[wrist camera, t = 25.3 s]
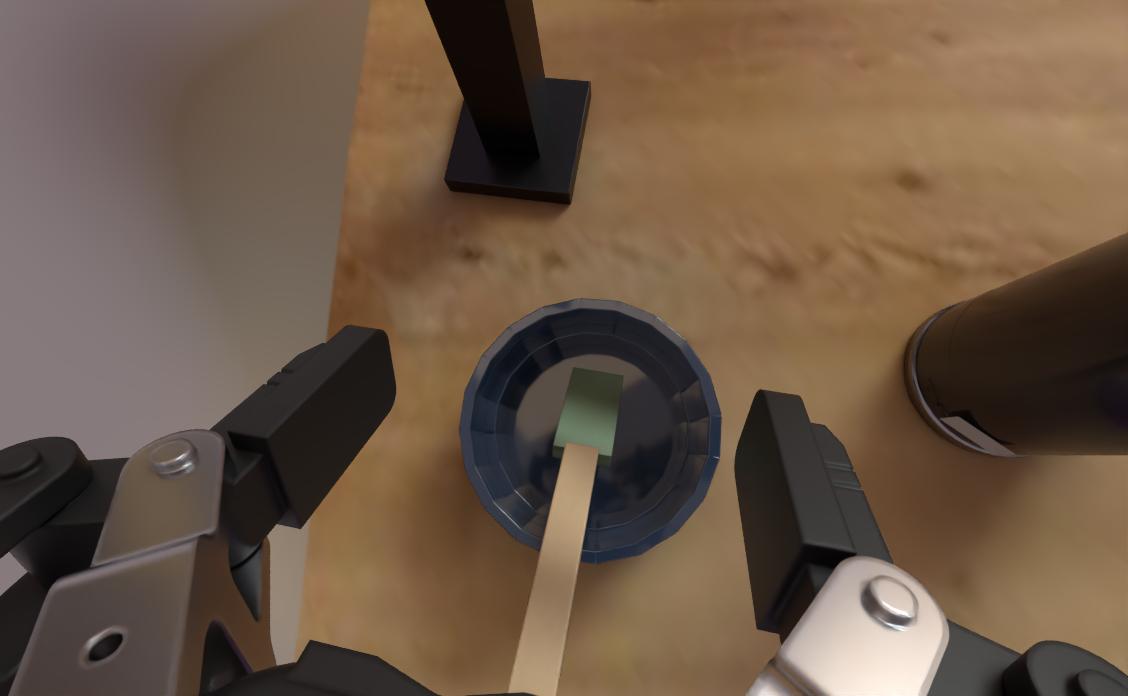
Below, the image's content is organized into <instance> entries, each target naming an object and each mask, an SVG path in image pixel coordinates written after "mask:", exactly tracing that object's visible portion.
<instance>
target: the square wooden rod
mask: <svg viewBox="0 0 1128 696" xmlns="http://www.w3.org/2000/svg"><path fill="white" fill-rule="evenodd" d="M623 378H624V376H623V375H617V374H611V373H605V372H599V371H594V370H588V369H582V368H576V367H573V369H572V373H571V377H570V381H569V385H568V388H567V392H566V396H565V400H564V404H563V408H562V412H561V416H560V419H559V423H558V427H557V431H556V435H555V439H554V443H553V455H552V456H553V457H554V458H559V459H562V460H561V465H560V469H559V473H558V477H557V482H556V486H555V490H554V494H553V498H552V503H551V507H550V511H549V515H548V520H547V524H546V528H545V532H544V536H543V541H542V545H541V549H540V553H539V558H538V562H537V566H536V570H535V574H534V579H533V583H532V587H531V591H530V596H529V600H528V604H527V608H526V612H525V617H524V621H523V625H522V629H521V634H520V638H519V642H518V646H517V650H516V655H515V659H514V663H513V667H512V672H511V676H510V680H509V684H508V688H507V693H519V692H525V693H529V694H533V695H537V696H557V692H558V686H559V680H560V675H561V669H562V663H563V657H564V651H565V646H566V640H567V634H568V628H569V623H570V617H571V611H572V605H573V600H574V594H575V588H576V582H577V577H578V571H579V565H580V559H581V554H582V548H583V542H584V536H585V531H586V525H587V519H588V513H589V508H590V502H591V496H592V490H593V485H594V479H595V473H596V467H597V466H600V467H606V468H609V467H610V462H611V457H612V451H613V444H614V437H615V431H616V424H617V417H618V411H619V404H620V398H621V391H622V384H623Z"/></svg>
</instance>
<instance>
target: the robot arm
mask: <svg viewBox="0 0 1128 696" xmlns="http://www.w3.org/2000/svg"><path fill="white" fill-rule="evenodd" d="M905 377H906V383H907V387H908V390H909V393H910V396H911V398H912V400H913V402H914V404H915V406H916V408H917V409H918V411H919V412H920V414H921V415H922V417H923V418H924V419H925V420H926V421H927V423H928V424H929V425H930V426H931V427H932V428H933V429H934V430H936V431H937V432H938V433H939V434H940V435H942V436H943V437H944V438H946V439H947V440H949V441H950V442H952V443H954V444H955V445H957V446H959V447H962V448H964V449H966V450H969V451H971V452H975V453H978V454H982V455H987V456H994V457H1025V456H1032V455H1063V456H1069V455H1128V232H1127V233H1125V234H1122V235H1120V236H1118V237H1115V238H1113V239H1111V240H1108V241H1106V242H1104V243H1101V244H1099V245H1097V246H1094V247H1092V248H1090V249H1087V250H1085V251H1083V252H1080V253H1078V254H1076V255H1073V256H1071V257H1069V258H1066V259H1064V260H1062V261H1059V262H1057V263H1055V264H1052V265H1050V266H1048V267H1045V268H1043V269H1041V270H1038V271H1036V272H1034V273H1031V274H1029V275H1027V276H1024V277H1022V278H1020V279H1017V280H1015V281H1013V282H1010V283H1008V284H1006V285H1003V286H1001V287H999V288H996V289H994V290H991V291H989V292H986V293H984V294H982V295H979V296H977V297H975V298H972V299H970V300H967V301H963V302H960V303H957V304H955V305H952V306H950V307H947V308H945V309H943V310H941V311H939V312H937V313H935V314H934V315H932V316H931V317H929V318H928V319H927V320H926V321H925V322H923V324H922V325H921V326H920V327H919V328H918V329H917V331H916V332H915V333H914V335H913V337H912V339H911V341H910V343H909V346H908V349H907V352H906V358H905ZM395 396H396V382H395V376H394V370H393V364H392V358H391V352H390V346H389V340H388V336H387V334H386V332H385V331H383V330H380V329H374V328H367V327H361V326H354V325H347V326H345V327H344V328H343V329H342V330H340V331H339V332H338V333H337V334H336V335H335V336H334V337H332V338H331V339H330V340H329V341H328V342H327V343H322V344H320V345H317V346H315V347H313V348H311V349H309V350H307V351H305V352H303V353H301V354H299V355H298V356H296V357H295V358H294V359H293V360H292V361H290V362H289V363H288V364H287V365H286V366H285V367H283V368H282V371H281V372H278V373H276V374H275V375H274V376H273V377H272V378H270V379H269V380H268V381H267V384H266V385H265V384H263V385H262V386H261V387H260V388H258V389H257V390H256V391H255V392H254V393H253V394H251V395H250V396H249V397H248V398H247V399H245V400H244V401H243V402H242V403H241V404H240V405H238V406H237V407H236V408H235V409H234V410H233V411H231V412H230V413H229V414H228V415H227V416H225V417H224V418H223V419H222V420H221V421H219V422H218V423H217V424H216V425H215V426H214V427H212V428H211V429H210V430H204V429H194V430H186V431H180V432H177V433H173V434H170V435H167V436H164V437H162V438H160V439H157V440H155V441H153V442H152V443H150V444H148V445H146V446H145V447H143V448H142V449H140V450H139V451H138V452H137V453H135V454H134V455H133V456H132V457H131V458H118V459H103V460H87V458H86V457H85V456H84V454H83V453H82V451H81V450H80V448H79V447H78V445H77V444H76V443H75V442H74V441H73V440H71V439H68V438H64V437H45V438H38V439H33V440H29V441H25V442H22V443H19V444H16V445H13V446H10V447H8V448H5V449H3V450H0V558H2V557H3V556H4V555H5V554H6V553H8V552H10V553H11V554H12V555H13V556H14V558H16V559H17V561H18V562H19V563H20V564H21V565H22V566H23V567H24V568H25V569H26V570H27V571H28V572H27V573H26V574H25V575H24V576H22V577H21V578H20V579H19V580H18V581H17V582H16V583H14V584H13V585H12V586H11V587H10V588H9V589H8V590H6V591H5V592H4V593H3V594H2V595H1V596H0V696H440V695H438V694H436V693H434V692H432V691H430V690H429V689H427V688H426V687H424V686H423V685H421V684H420V683H418V682H416V681H415V680H413V679H412V678H410V677H409V676H407V675H406V674H404V673H402V672H401V671H399V670H398V669H396V668H395V667H393V666H392V665H390V664H388V663H387V662H385V661H384V660H382V659H381V658H379V657H378V656H374V655H370V654H366V653H362V652H358V651H354V650H350V649H346V648H342V647H338V646H333V645H329V644H325V643H321V642H317V641H313V640H310V641H309V642H308V644H307V646H306V647H305V649H304V651H303V652H302V654H301V656H300V657H299V659H298V661H297V662H294V663H288V664H283V665H278V666H277V664H276V659H275V655H274V652H273V648H272V643H271V636H270V543H269V540H268V538H267V535H268V534H269V532H270V531H271V530H272V529H273V528H274V526H275V525H276V524H279V525H284V526H289V527H294V528H298V529H301V528H302V527H303V526H304V524H305V523H306V522H307V520H308V519H309V518H310V516H311V515H312V514H313V512H314V511H315V510H316V508H317V507H318V506H319V504H320V503H321V502H322V501H323V499H324V498H325V497H326V495H327V494H328V493H329V491H330V490H331V489H332V487H333V486H334V485H335V483H336V482H337V481H338V479H339V478H340V477H341V475H342V474H343V473H344V471H345V470H346V469H347V468H348V466H349V465H350V464H351V462H352V461H353V460H354V458H355V457H356V456H357V454H358V453H359V452H360V450H361V449H362V448H363V446H364V445H365V444H366V442H367V441H368V440H369V438H370V437H371V436H372V435H373V433H374V432H375V431H376V429H377V428H378V427H379V425H380V424H381V423H382V421H383V420H384V419H385V417H386V416H387V415H388V413H389V412H390V410H391V408H392V406H393V404H394V401H395ZM734 470H735V480H736V487H737V494H738V501H739V508H740V515H741V522H742V529H743V536H744V543H745V550H746V557H747V564H748V571H749V578H750V585H751V592H752V599H753V606H754V613H755V620H756V627H757V629H759V630H763V631H768V632H772V633H777V634H779V636H780V641H781V648H780V649H779V651H778V652H777V653H776V655H775V656H774V658H773V659H771V660H770V661H769V662H768V664H767V665H766V666H765V668H764V669H763V671H762V672H761V673H760V675H759V676H758V678H757V679H756V680H755V682H754V683H753V685H752V686H751V688H750V689H749V691H748V692H747V693H746V695H745V696H1128V676H1127V675H1126V674H1125V673H1123V672H1122V671H1121V670H1119V669H1118V668H1117V667H1115V666H1114V665H1112V664H1110V663H1109V662H1107V661H1106V660H1104V659H1102V658H1101V657H1099V656H1097V655H1095V654H1093V653H1091V652H1089V651H1087V650H1085V649H1082V648H1080V647H1078V646H1075V645H1072V644H1069V643H1065V642H1060V641H1042V642H1038V643H1036V644H1035V645H1033V646H1032V647H1031V648H1029V649H1028V650H1027V651H1026V652H1025V653H1024V654H1020V653H1018V652H1016V651H1013V650H1011V649H1009V648H1007V647H1005V646H1003V645H1000V644H998V643H996V642H994V641H992V640H990V639H988V638H985V637H983V636H981V635H979V634H977V633H975V632H972V631H970V630H968V629H966V628H964V627H962V626H960V625H958V624H956V623H954V622H952V621H950V620H949V619H947V618H946V617H945V615H944V613H943V611H942V609H941V607H940V606H939V604H938V602H937V601H936V600H935V598H934V597H933V596H932V595H931V593H930V592H929V591H928V590H927V589H926V588H925V587H924V586H923V585H922V584H921V583H920V582H918V581H917V580H916V579H915V578H914V577H912V576H911V575H909V574H908V573H907V572H905V571H904V570H902V569H900V568H898V567H897V566H895V565H894V563H893V561H892V559H891V556H890V554H889V552H888V549H887V547H886V544H885V542H884V540H883V537H882V535H881V533H880V530H879V528H878V526H877V523H876V521H875V518H874V516H873V514H872V511H871V509H870V507H869V504H868V502H867V499H866V497H865V495H864V492H863V491H861V490H860V487H861V485H860V483H859V480H858V478H857V476H856V473H855V472H853V466H852V464H851V461H850V459H849V457H848V454H847V452H846V450H845V447H844V445H843V444H842V443H841V442H840V441H839V440H838V439H837V438H836V437H835V436H834V435H833V433H832V432H831V431H830V430H829V429H828V428H827V427H826V426H825V425H821V424H815V423H810V420H809V417H808V415H807V412H806V409H805V406H804V403H803V401H802V398H801V397H800V396H799V395H793V394H787V393H780V392H774V391H767V390H761V389H760V390H758V391H757V393H756V395H755V397H754V399H753V402H752V405H751V408H750V411H749V414H748V416H747V419H746V422H745V425H744V428H743V431H742V434H741V436H740V439H739V442H738V445H737V449H736V455H735V465H734ZM468 696H537V695H533V694H529V693H525V692H519V693H502V694H485V695H468Z"/></svg>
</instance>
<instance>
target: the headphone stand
mask: <svg viewBox="0 0 1128 696" xmlns="http://www.w3.org/2000/svg"><path fill="white" fill-rule="evenodd" d="M425 3H426V5H427V8H428V10H429V13H430V15H431V18H432V20H433V23H434V25H435V28H436V30H437V33H438V35H439V38H440V40H441V43H442V45H443V48H444V50H445V52H446V55H447V57H448V60H449V62H450V65H451V67H452V70H453V72H454V75H455V77H456V80H457V82H458V85H459V87H460V90H461V92H462V95H463V97H464V101H463V105H462V109H461V113H460V117H459V121H458V126H457V130H456V134H455V138H454V142H453V146H452V150H451V154H450V158H449V162H448V166H447V170H446V174H445V178H444V180H445V182H446V184H447V185H448V187H449V189H450V190H451V191H458V192H466V193H475V194H484V195H492V196H501V197H509V198H518V199H527V200H535V201H544V202H552V203H561V204H571V201H572V196H573V190H574V185H575V180H576V174H577V169H578V164H579V158H580V153H581V148H582V142H583V137H584V132H585V126H586V121H587V116H588V110H589V105H590V100H591V83H590V81H578V80H567V79H555V78H545V74H544V68H543V62H542V56H541V50H540V44H539V38H538V32H537V26H536V20H535V14H534V8H533V2H532V0H425Z"/></svg>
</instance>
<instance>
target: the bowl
mask: <svg viewBox="0 0 1128 696" xmlns="http://www.w3.org/2000/svg"><path fill="white" fill-rule="evenodd" d="M573 367H576V368H582V369H588V370H594V371H599V372H605V373H611V374H617V375H623V376H624V378H623V384H622V391H621V398H620V404H619V411H618V417H617V424H616V431H615V437H614V444H613V451H612V457H611V462H610V467H609V468H606V467H600V466H597V467H596V473H595V479H594V485H593V490H592V496H591V502H590V508H589V513H588V519H587V525H586V531H585V536H584V542H583V548H582V554H581V559H580V562H583V563H590V564H596V563H597V564H601V563H605V562H610V561H615V560H620V559H624V558H629V557H634V556H638V555H641V554H643V553H644V552H646V551H648V550H649V549H651V548H652V547H654V546H656V545H657V544H659V543H661V542H662V541H664V540H666V539H667V538H669V537H671V536H672V535H674V534H676V532H678V531H679V529H680V528H681V527H682V526H683V525H684V523H685V522H686V521H687V520H688V519H689V517H690V516H691V515H692V514H693V513H694V511H695V510H696V509H697V508H698V506H699V505H700V504H701V503H702V502H703V500H704V498H705V497H706V494H707V492H708V489H709V486H710V484H711V481H712V478H713V476H714V473H715V470H716V468H717V465H718V462H719V460H720V459H719V458H720V447H721V419H722V417H721V411H720V408H719V404H718V401H717V397H716V394H715V390H714V387H713V383H712V380H711V377H710V375H709V373H708V371H707V370H706V368H705V367H704V365H703V364H702V362H701V361H700V359H699V358H698V356H697V355H696V353H695V352H694V350H693V349H692V347H691V346H690V344H689V343H688V342H687V341H686V339H684V338H683V337H682V336H681V335H679V334H678V333H677V332H676V331H674V330H673V329H672V328H671V327H669V326H668V325H667V324H666V323H664V322H663V321H662V320H661V319H659V318H658V317H657V316H655V315H653V314H651V313H648V312H646V311H643V310H641V309H638V308H635V307H633V306H630V305H628V304H625V303H623V302H620V301H619V302H618V301H611V300H597V299H583V298H581V299H574V300H570V301H566V302H561V303H557V304H553V305H548V306H544V307H542V308H539V309H538V310H536V311H534V312H532V313H531V314H529V315H527V316H526V317H524V318H522V319H520V320H519V321H517V322H515V323H514V324H512V325H510V326H509V327H508V328H507V329H506V330H505V331H504V332H503V333H502V334H501V335H500V336H499V337H498V338H497V339H496V341H495V342H494V343H493V344H492V345H491V346H490V347H489V348H488V349H487V350H486V351H485V352H484V354H483V355H482V356H481V358H480V360H479V362H478V364H477V366H476V368H475V371H474V373H473V375H472V377H471V379H470V381H469V383H468V385H467V387H466V389H465V392H464V399H463V406H462V413H461V419H460V426H459V434H460V441H461V447H462V453H463V459H464V466H465V471H466V474H467V476H468V478H469V480H470V482H471V484H472V486H473V488H474V490H475V492H476V494H477V496H478V498H479V500H480V502H481V504H482V506H483V508H484V509H485V510H486V511H487V512H488V513H489V514H490V515H491V516H492V517H493V518H494V519H495V520H496V521H497V522H498V523H499V524H500V525H501V526H502V527H503V528H504V529H505V530H506V531H507V532H508V533H509V534H510V535H511V536H512V537H513V538H514V539H515V540H517V541H519V542H521V543H523V544H525V545H527V546H529V547H531V548H533V549H535V550H537V551H539V552H540V549H541V545H542V541H543V536H544V532H545V528H546V524H547V520H548V515H549V511H550V507H551V503H552V498H553V494H554V490H555V486H556V482H557V477H558V473H559V469H560V465H561V460H562V459H559V458H554V457H553V456H552V455H553V443H554V439H555V435H556V431H557V427H558V423H559V419H560V416H561V412H562V408H563V404H564V400H565V396H566V392H567V388H568V385H569V381H570V377H571V373H572V369H573Z"/></svg>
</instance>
